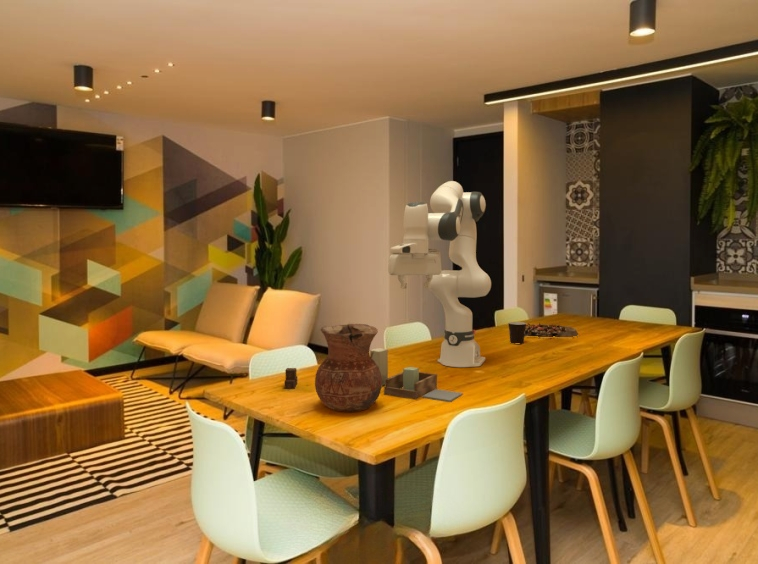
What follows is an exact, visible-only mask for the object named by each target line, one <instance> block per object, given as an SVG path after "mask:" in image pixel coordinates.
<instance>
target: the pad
mask: <svg viewBox="0 0 758 564" xmlns="http://www.w3.org/2000/svg"><path fill="white" fill-rule="evenodd" d="M463 395H464V394H463V392H457V391H450V390H445V389H439V388H437V389H435V390H433V391H431V392H429V393H427V394H425V395H423V396H422V398H423V399H428V400H436V401H441V402H447V403H452V402H453V401H455V400H456V399H459V397H460V398H461V396H463Z"/></svg>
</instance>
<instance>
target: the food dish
mask: <svg viewBox="0 0 758 564" xmlns="http://www.w3.org/2000/svg"><path fill="white" fill-rule="evenodd" d="M578 334H579V332H578V331H577V329H576V328H574V327H571V326H564V325H560V324H558V325H556V324H543V323H542V324H541V322H540V321H539V322H538V324H534V323H533V324H530V323H529V322H527V324H526V329H525V336H538V337H553V336H555V337H573V336H577V335H578Z"/></svg>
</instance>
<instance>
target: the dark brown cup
mask: <svg viewBox="0 0 758 564" xmlns="http://www.w3.org/2000/svg"><path fill="white" fill-rule="evenodd" d="M507 324H508V332H509V342H511V343H524V341H525V337H524V336H525V329H526V325H527V323H526V322H522V321H510V322H508V323H507ZM511 343H510V344H511Z"/></svg>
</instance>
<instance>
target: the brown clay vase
mask: <svg viewBox="0 0 758 564" xmlns="http://www.w3.org/2000/svg"><path fill="white" fill-rule="evenodd" d="M320 331H321V333H322V334H323V336H324V339H325V340H326V345H327V349H328V350H327V351H328V352H327V353H328V354H327V356H326V358H325V359H324V360H323V361H322V362H321V363H320V364H319V366H318V368H317V370H316V372H315V378H314V387H315V392H316V395H317V396H318V398H319V400H320V402H321V403H322V404H323V405H325V406H326V407H327V408H328V409H330V410H334V411H337V412H348V413H349V412H351V413H352V412H353V413H354V412H361V411H364V410H368V409H369V408H370V407H371V406H372V405H373V404H375V402H376V401H377V400H378V398H379V396H380V394H381V390H382V387H383V386H382V376H381V372H380V370H379V367H378V366H377V364H376V363H375V361H374V360H373V359H372V358H371V357H370V350H371V344H372V343H373V341H374V338H375V337H376V335H378V328H377V327H374V326H372V325H368V324H367V323H366V324H365V323H348V324H336V325H333V326H330V325H329V326H327V325H324V326H323V327H321V328H320Z"/></svg>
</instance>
